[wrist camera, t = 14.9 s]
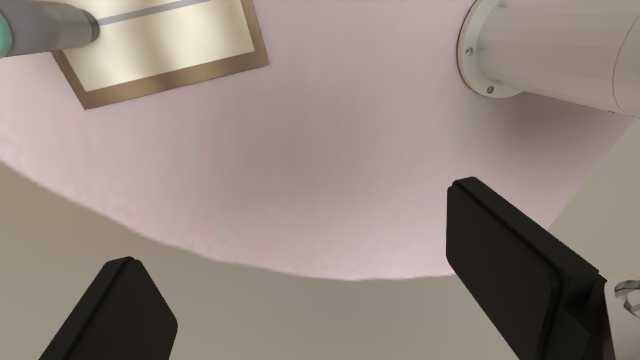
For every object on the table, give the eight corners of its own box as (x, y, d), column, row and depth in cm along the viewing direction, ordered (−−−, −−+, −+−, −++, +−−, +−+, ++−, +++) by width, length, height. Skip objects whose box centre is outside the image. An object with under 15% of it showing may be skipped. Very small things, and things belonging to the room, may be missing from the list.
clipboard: (223, -104, 25) (221, -112, 23) (268, 63, 31) (269, 65, 29) (-8, -56, 23) (-25, -61, 22) (87, 108, 30) (79, 112, 28)
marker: (91, -2, 25) (-35, -20, 15) (112, 42, 27) (13, 54, 16) (50, 8, 25) (-107, -4, 15) (74, 51, 27) (-51, 69, 16)
